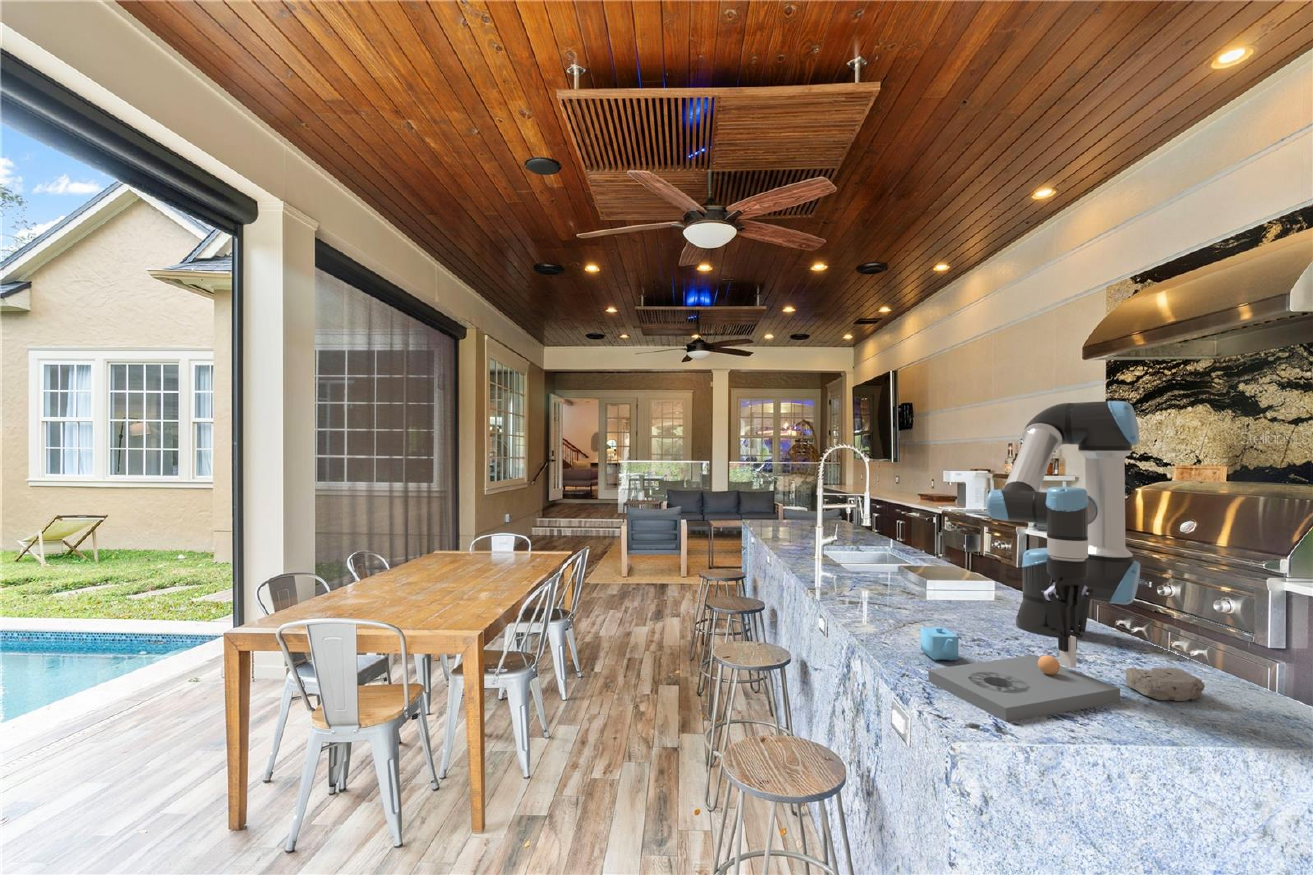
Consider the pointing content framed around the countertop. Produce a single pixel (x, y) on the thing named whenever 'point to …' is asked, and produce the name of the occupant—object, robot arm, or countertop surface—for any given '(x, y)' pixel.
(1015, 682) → the plate
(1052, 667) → the ball
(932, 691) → the countertop surface
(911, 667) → the countertop surface
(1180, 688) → the stone
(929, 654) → the light blue teapot
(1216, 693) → the countertop surface
